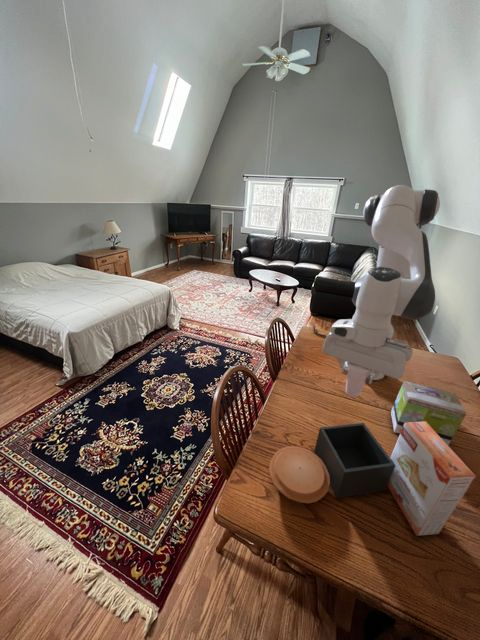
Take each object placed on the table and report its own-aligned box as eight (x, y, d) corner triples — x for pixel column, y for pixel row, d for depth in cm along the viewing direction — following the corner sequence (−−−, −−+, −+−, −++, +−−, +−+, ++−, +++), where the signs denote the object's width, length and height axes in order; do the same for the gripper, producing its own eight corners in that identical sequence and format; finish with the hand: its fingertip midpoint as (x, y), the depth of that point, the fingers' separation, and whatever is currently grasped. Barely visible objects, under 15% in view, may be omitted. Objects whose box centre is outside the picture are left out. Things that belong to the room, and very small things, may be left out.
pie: (325, 461, 76) (328, 449, 74) (329, 519, 63) (333, 506, 61) (271, 449, 79) (273, 437, 77) (264, 502, 66) (266, 489, 63)
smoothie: (363, 388, 78) (376, 346, 72) (365, 402, 72) (378, 358, 66) (340, 383, 79) (350, 341, 74) (340, 396, 74) (351, 353, 68)
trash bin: (314, 451, 79) (319, 427, 75) (355, 446, 82) (363, 422, 77) (336, 498, 67) (344, 472, 63) (384, 490, 70) (395, 465, 65)
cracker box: (380, 477, 73) (403, 420, 64) (400, 476, 73) (426, 420, 64) (414, 537, 60) (449, 477, 51) (439, 535, 61) (478, 475, 52)
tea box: (393, 433, 87) (407, 398, 80) (390, 412, 95) (402, 379, 89) (448, 449, 82) (467, 413, 76) (439, 426, 90) (456, 391, 84)
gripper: (416, 340, 65) (400, 387, 71) (332, 318, 76) (324, 360, 81) (413, 351, 60) (396, 399, 66) (325, 325, 71) (316, 369, 76)
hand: (356, 377), depth 74 cm, fingers closed on smoothie, 5 cm apart
